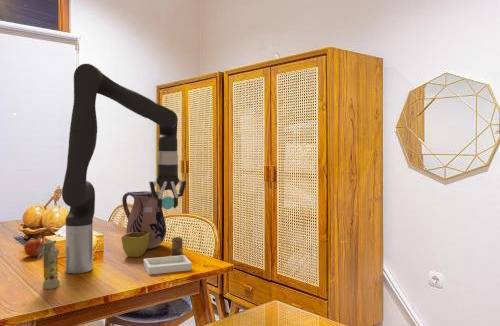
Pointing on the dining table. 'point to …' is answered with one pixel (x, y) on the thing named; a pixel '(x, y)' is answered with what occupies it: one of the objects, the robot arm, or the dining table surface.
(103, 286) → the dining table surface
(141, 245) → the flower pot
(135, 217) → the ceramic pitcher
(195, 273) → the dining table surface
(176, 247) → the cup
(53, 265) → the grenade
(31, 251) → the fruit
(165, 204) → the ball
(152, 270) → the tray
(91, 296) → the dining table surface
